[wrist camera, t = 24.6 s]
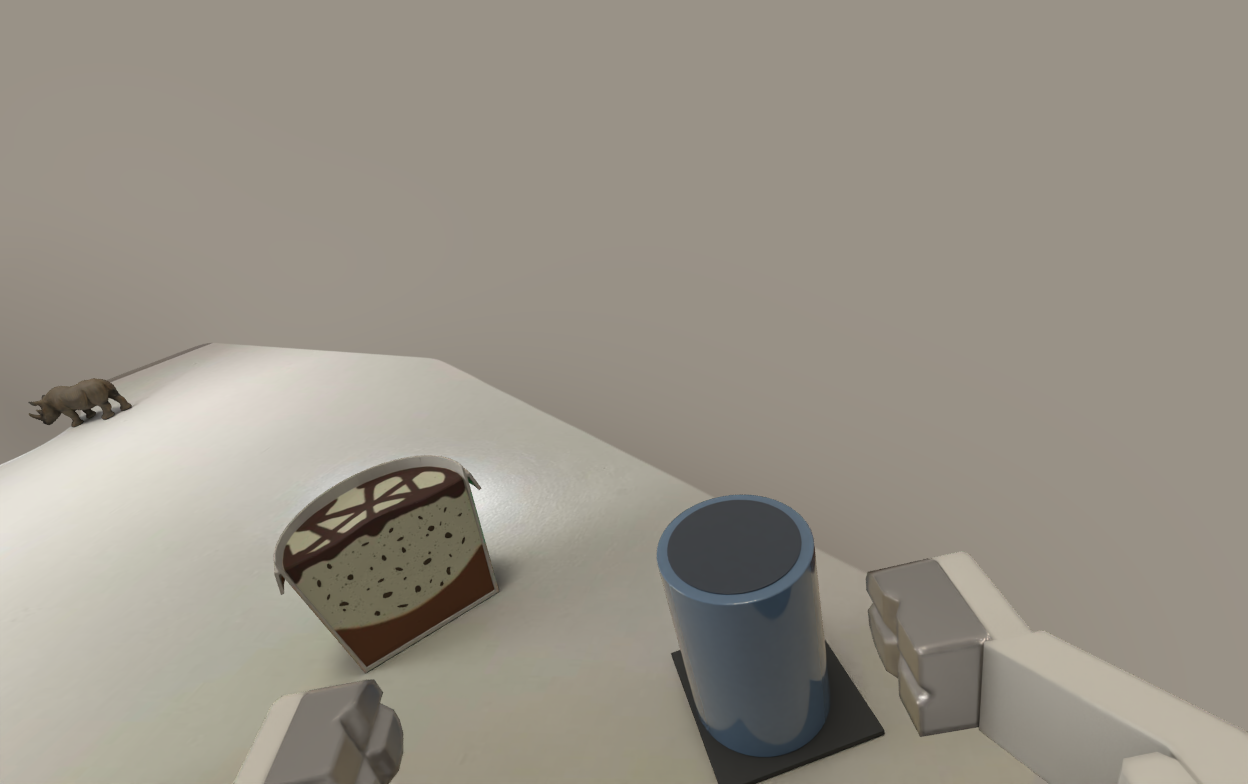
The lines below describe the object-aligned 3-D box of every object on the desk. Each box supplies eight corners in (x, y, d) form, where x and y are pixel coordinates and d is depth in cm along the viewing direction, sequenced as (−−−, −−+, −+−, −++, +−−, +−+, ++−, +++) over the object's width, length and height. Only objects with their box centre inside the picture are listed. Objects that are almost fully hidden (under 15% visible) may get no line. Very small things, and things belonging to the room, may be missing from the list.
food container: (486, 538, 49) (440, 429, 44) (518, 579, 44) (470, 462, 39) (325, 629, 44) (255, 517, 39) (341, 687, 39) (263, 567, 34)
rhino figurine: (53, 423, 98) (27, 390, 95) (137, 403, 97) (114, 369, 95) (33, 437, 94) (6, 403, 91) (120, 416, 94) (95, 381, 91)
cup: (811, 780, 28) (787, 621, 23) (673, 729, 31) (629, 582, 27) (844, 655, 33) (830, 504, 28) (722, 623, 36) (691, 484, 32)
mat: (884, 734, 29) (884, 730, 29) (722, 796, 28) (721, 792, 28) (803, 609, 36) (803, 606, 36) (672, 656, 36) (671, 652, 35)
